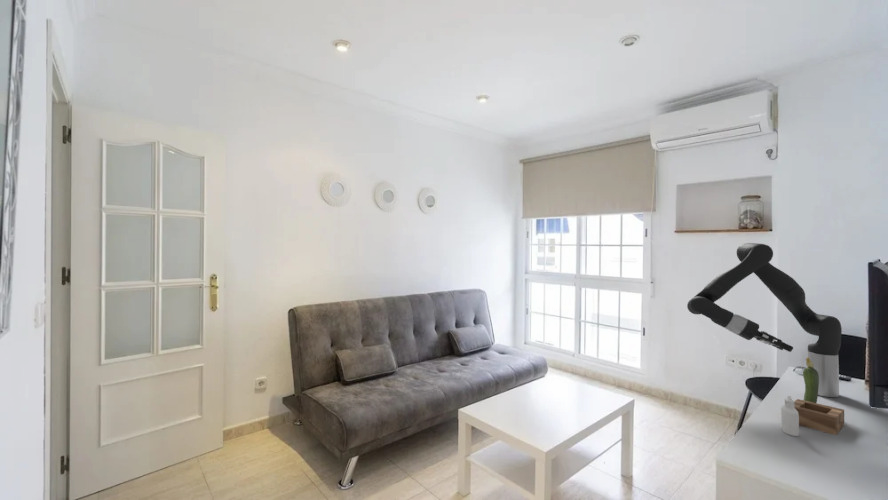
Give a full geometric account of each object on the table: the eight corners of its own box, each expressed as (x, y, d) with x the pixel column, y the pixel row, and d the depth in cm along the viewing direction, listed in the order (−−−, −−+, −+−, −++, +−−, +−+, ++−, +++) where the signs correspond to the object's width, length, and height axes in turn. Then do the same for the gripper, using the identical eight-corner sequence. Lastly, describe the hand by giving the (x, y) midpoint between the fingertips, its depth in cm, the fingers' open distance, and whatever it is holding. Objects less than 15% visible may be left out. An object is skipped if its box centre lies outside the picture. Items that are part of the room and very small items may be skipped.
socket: (797, 413, 141) (797, 398, 141) (844, 425, 131) (844, 409, 131) (787, 421, 134) (787, 406, 134) (835, 435, 124) (835, 418, 124)
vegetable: (812, 408, 146) (812, 356, 146) (822, 413, 142) (822, 359, 142) (800, 408, 146) (799, 355, 147) (809, 412, 142) (809, 358, 142)
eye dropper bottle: (799, 431, 127) (798, 395, 127) (799, 437, 123) (798, 400, 123) (781, 427, 130) (780, 392, 130) (780, 433, 126) (780, 396, 126)
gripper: (751, 318, 150) (800, 341, 142) (741, 318, 162) (786, 339, 155) (741, 335, 150) (789, 359, 143) (731, 333, 163) (776, 355, 156)
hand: (787, 348), depth 149 cm, fingers open, 8 cm apart
